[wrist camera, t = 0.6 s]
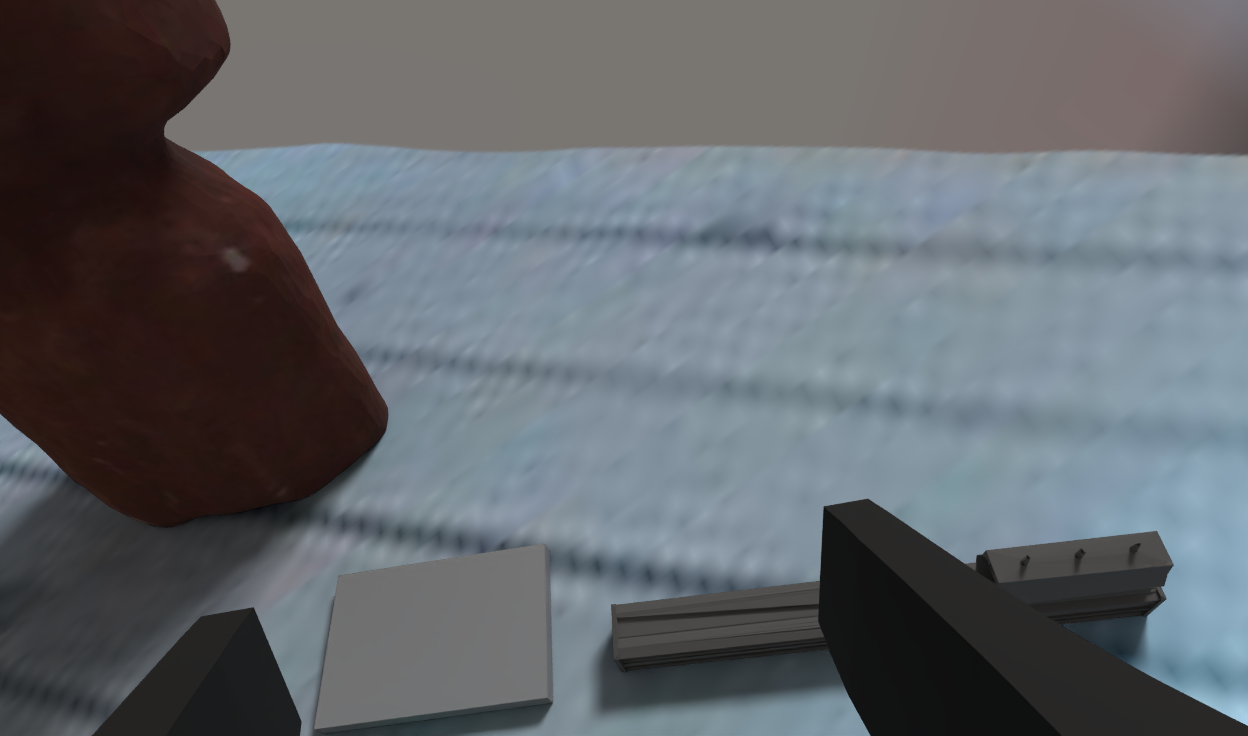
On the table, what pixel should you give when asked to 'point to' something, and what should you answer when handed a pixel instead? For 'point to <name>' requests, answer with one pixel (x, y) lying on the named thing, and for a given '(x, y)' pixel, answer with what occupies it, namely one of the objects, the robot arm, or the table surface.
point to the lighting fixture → (788, 615)
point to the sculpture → (155, 279)
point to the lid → (438, 640)
